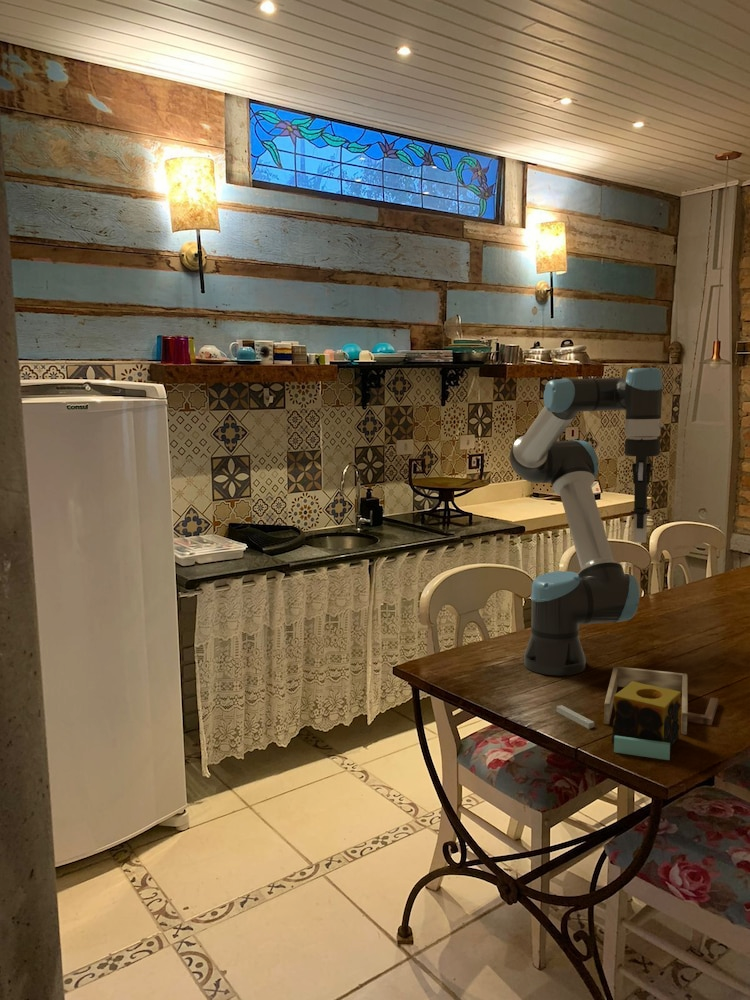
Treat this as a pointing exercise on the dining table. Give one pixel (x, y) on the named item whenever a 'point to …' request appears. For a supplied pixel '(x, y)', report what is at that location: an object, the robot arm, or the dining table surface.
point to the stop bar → (642, 747)
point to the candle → (647, 713)
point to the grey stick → (575, 716)
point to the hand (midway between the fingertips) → (639, 541)
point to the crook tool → (708, 715)
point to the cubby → (649, 677)
